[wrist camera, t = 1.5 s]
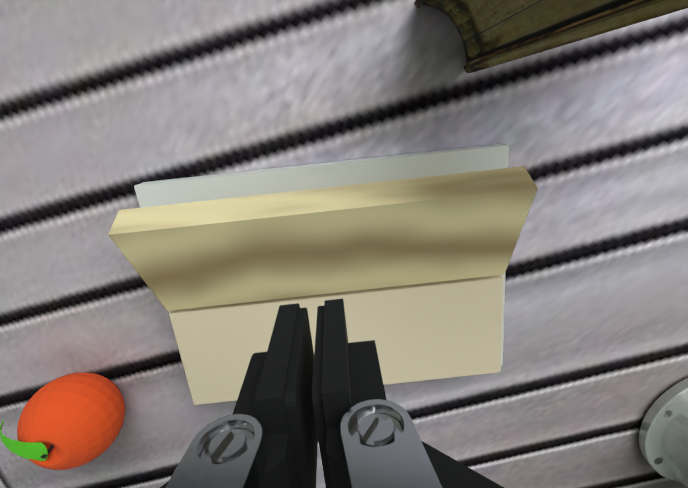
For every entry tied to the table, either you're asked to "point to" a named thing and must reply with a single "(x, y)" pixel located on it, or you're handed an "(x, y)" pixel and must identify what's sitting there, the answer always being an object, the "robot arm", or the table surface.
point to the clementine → (69, 421)
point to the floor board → (326, 177)
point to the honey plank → (327, 238)
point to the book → (539, 24)
